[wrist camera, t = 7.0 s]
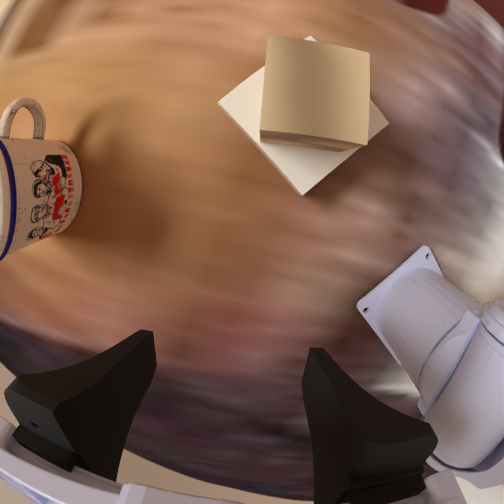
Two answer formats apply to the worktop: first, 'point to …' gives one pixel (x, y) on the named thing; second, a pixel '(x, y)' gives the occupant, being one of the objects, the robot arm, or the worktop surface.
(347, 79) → the brass cube
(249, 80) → the ceramic plinth
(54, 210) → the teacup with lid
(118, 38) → the worktop surface
